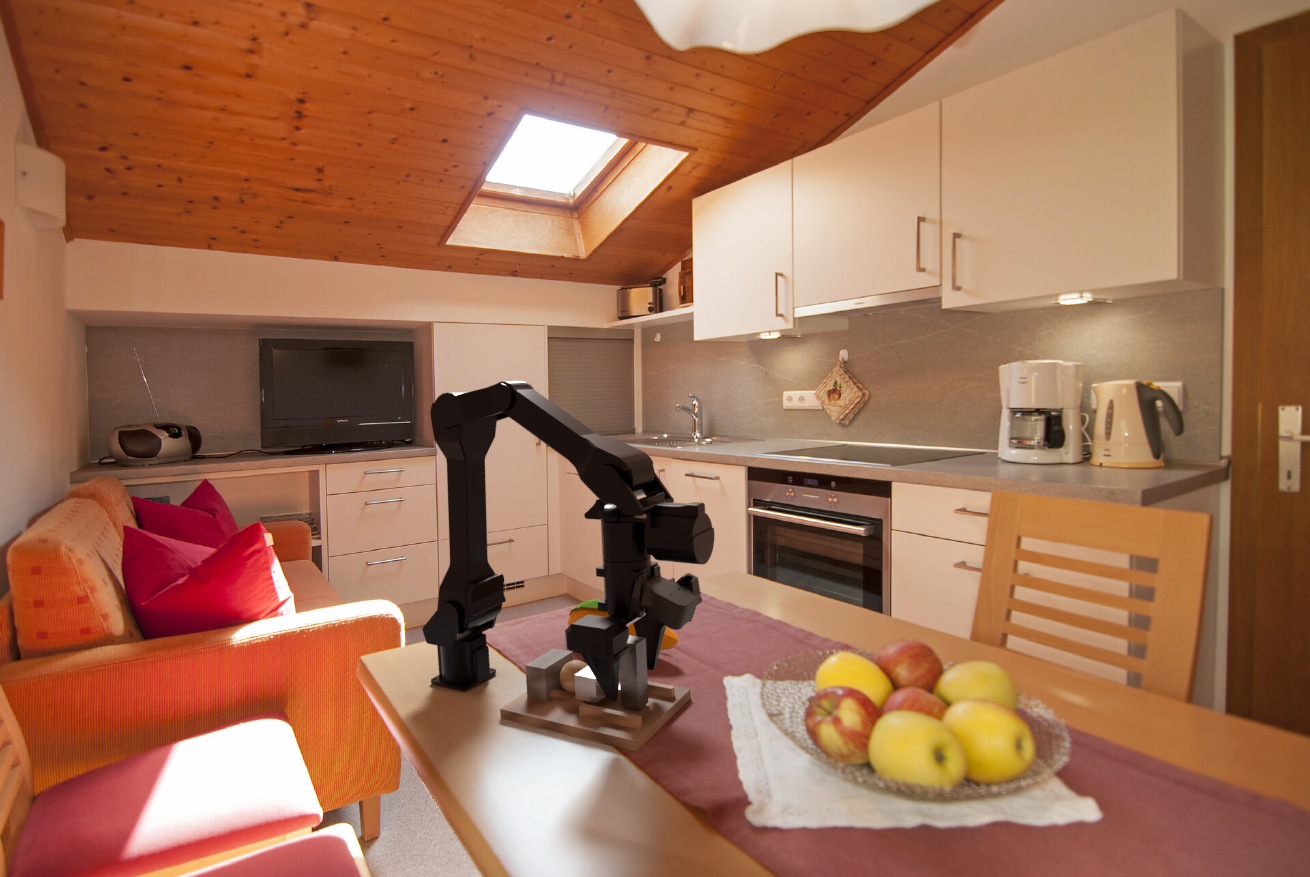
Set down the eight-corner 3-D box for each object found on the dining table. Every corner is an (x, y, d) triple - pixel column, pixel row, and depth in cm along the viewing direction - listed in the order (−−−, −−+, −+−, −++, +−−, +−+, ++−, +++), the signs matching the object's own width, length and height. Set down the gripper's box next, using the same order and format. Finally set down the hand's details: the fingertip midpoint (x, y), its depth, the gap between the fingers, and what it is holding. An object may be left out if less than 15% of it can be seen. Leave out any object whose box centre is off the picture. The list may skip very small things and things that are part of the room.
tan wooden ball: (554, 695, 88) (552, 664, 87) (572, 683, 91) (570, 653, 91) (580, 701, 86) (579, 669, 86) (598, 688, 89) (596, 657, 89)
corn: (585, 585, 114) (691, 603, 102) (589, 630, 115) (694, 652, 103) (554, 601, 107) (663, 622, 96) (559, 648, 109) (667, 674, 97)
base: (500, 718, 86) (498, 676, 85) (567, 673, 98) (565, 636, 97) (636, 751, 77) (633, 704, 76) (690, 698, 89) (689, 657, 88)
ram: (576, 705, 85) (572, 640, 84) (602, 685, 90) (599, 624, 90) (631, 717, 81) (628, 650, 81) (655, 695, 87) (652, 632, 86)
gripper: (648, 585, 71) (655, 733, 72) (720, 543, 87) (724, 665, 89) (558, 574, 76) (566, 713, 78) (642, 537, 93) (647, 652, 94)
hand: (632, 684), depth 84 cm, fingers open, 9 cm apart
